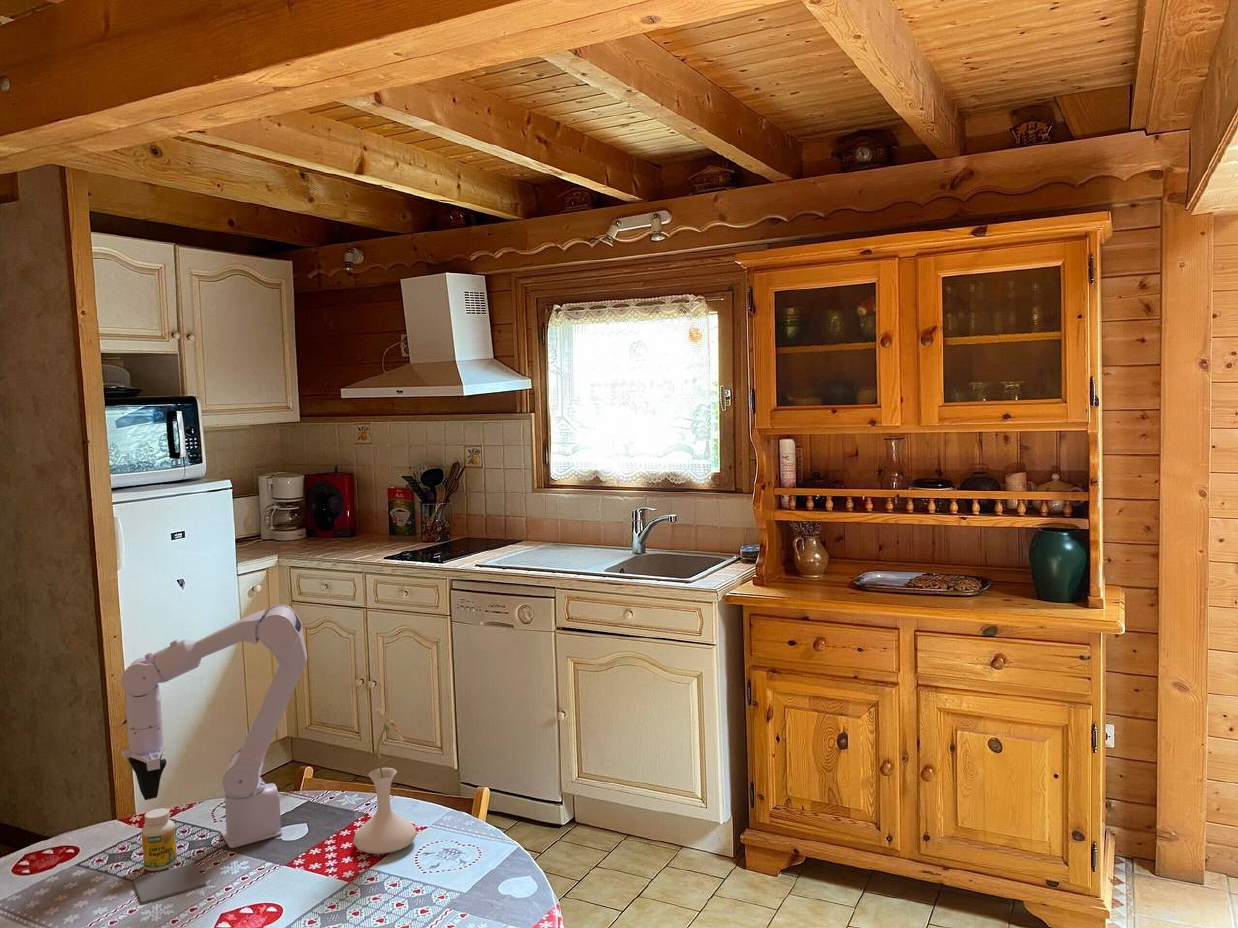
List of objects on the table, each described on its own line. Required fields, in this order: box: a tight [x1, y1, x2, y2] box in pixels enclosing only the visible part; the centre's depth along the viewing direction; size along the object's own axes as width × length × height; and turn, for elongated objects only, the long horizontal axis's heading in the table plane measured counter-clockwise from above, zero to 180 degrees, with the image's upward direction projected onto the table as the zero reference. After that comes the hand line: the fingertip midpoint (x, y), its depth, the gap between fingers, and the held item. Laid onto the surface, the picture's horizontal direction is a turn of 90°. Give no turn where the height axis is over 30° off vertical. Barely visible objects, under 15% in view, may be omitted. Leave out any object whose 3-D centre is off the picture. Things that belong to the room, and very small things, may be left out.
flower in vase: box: [352, 707, 417, 855], centre depth 178 cm, size 13×11×25 cm
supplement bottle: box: [141, 807, 178, 872], centre depth 173 cm, size 5×5×10 cm
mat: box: [132, 862, 207, 905], centre depth 166 cm, size 10×9×1 cm
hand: (149, 795), depth 179 cm, fingers open, 2 cm apart
